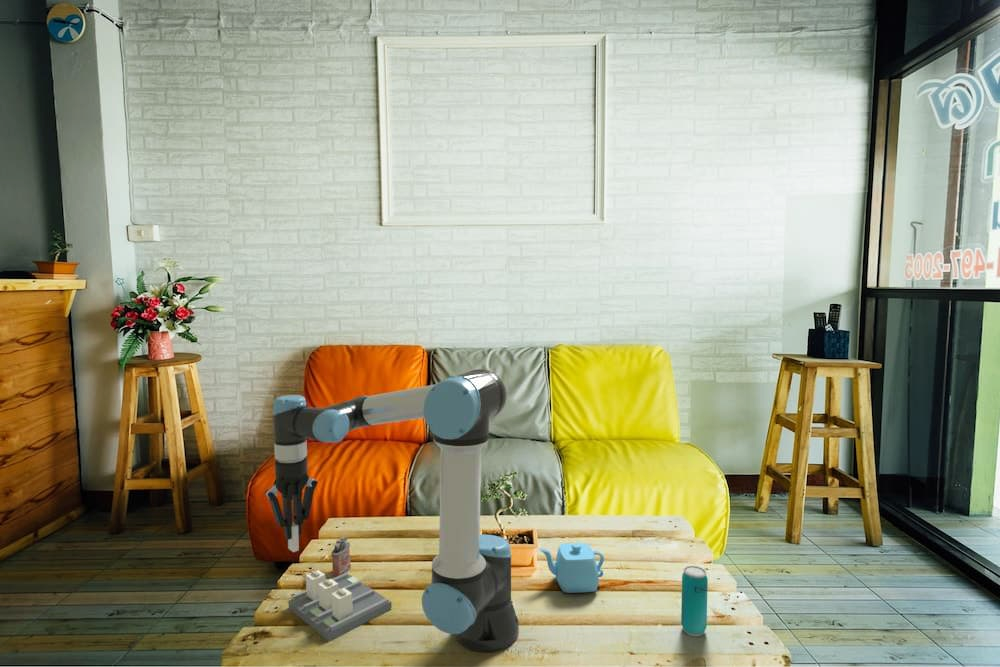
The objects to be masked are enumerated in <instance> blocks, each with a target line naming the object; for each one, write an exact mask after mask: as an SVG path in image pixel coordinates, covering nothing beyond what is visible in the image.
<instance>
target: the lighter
mask: <svg viewBox="0 0 1000 667" xmlns="http://www.w3.org/2000/svg"><path fill="white" fill-rule="evenodd" d="M350 543H351V542H349V541H348V536H347V535H343V536H342V537H341V538H340V539H337V540H336V542H335V544H334V549H333V550H332V552H331V553H330V554H331V561H332V564H331V565H332V575H331V576H332V578H335V577H337V576H340V575H342V574H344V573H347V572H348V571H350V570H351V569H352V568H351V567H352V564H351V558H350V557H351V556H350V547H351V544H350ZM348 573H349V572H348ZM332 578H331V579H332Z"/></svg>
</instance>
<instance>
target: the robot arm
mask: <svg viewBox="0 0 1000 667" xmlns="http://www.w3.org/2000/svg"><path fill="white" fill-rule="evenodd" d="M306 401H307V400H306V397H304V396H302V395H299V394H291V395H290V394H287V395H281V396H278V397H277V398H275V399H274V401H273V406H272V408H273V409H272V410H273V411H272V417H273V418H272V419H273V420H272V421H273V441H274V442H273V443H274V444H273V445H274V447H273V448H274V449H273V450H274V459H275V461H274V474H275V479H274V482H273V486H272V487H271V488H270V489H266V490H265V491H264V495H265V496H266V497H267V499H268V500H269V503H270V506H271V511H272V513H273V517H274V520H275V523H276V525H278V526H279V527H280V528H284V529H283V530H284V532H283V533H284V538H285V539H286V540H287V549H288V550H289V551H291V552H292V553H296V552H298V551H299V550H300V549H299V548H300V545H299V543H300V542H299V541H300V539H299V537H301V535H302V533H303V532H302V526H303V524H304V521H305V520H307V521H308V520H309V518H310V513H311V507H312V503H313V498H314V494H315V490H316V487H317V485H318V484H319V482H318V480H316V479H315V478H311V477H310V476H309V474H308V458H307V456H308V447H307V444H308V443H307V442H308V440H315V441H319V442H322V443H332V444H333V443H335V444H336V443H339V442H341V441H343V440H344V438H345V437H346V436H347V435H348V433H349V432H352V431H353V430H357V429H359V428H366V427H371V426H375V425H384V424H391V423H398V422H404V421H411V420H418V419H424V422H425V423H426V425H427V426H428V427H429V430H430V431H431V433H432V435H433V437H432V439H433V440H432V441H433V442H434V443H435V444H436V445H437V446H438V447H439V449H440V453H439V454H440V456H439V457H440V461H439V463H440V464H439V533H438V534H439V538H438V539H439V541H438V543H439V544H438V546H439V549H438V554H437V555H436V556H435V557H434V558H433V559H432V563H431V581H430V584H428V585H427V586H426V587H425V589H424V591H423V593H422V596H421V606H422V610H423V613H424V615H425V617H426V619H427V620H428V621H429V622H431V625H432V626H434V627H435V628H436V629H438V630H439V631H441V632H442V633H445V634H449V635H456V639H457V642H459V644H461V645H462V646H463V647H464V648H467V649H469V650H470V651H475V652H481V653H482V652H483V653H489V652H498V651H501V650H504V649H505V648H508V647H510V646H511V645H513V643H515V642H516V640H517V639H518V637H519V635H520V634H519V633H520V631H519V630H520V627H519V625H520V624H519V619H518V617H517V615H516V611H515V610H516V609H515V608H514V605H513V604H514V603H513V602H512V558H513V557H512V556H513V555H512V552H511V544H510V543H509V541H507V539H505V538H504V537H501V536H498V535H493V534H480V533H481V532H480V526H481V525H480V523H481V522H480V521H481V484H482V483H481V482H482V481H481V480H482V448H483V447H484V446H485V445H486V444H487V443H488V442H489V438H490V421H492V420H493V419H494V418H496V417H497V416H498V415H500V414H501V412H502V411H503V410H504V407H505V405H506V402H507V389H506V386H505V383H504V381H503V380H502V379H501V378H500V376H498V375H497V374H496V373H494V372H493V371H491V370H489V369H484V368H483V369H480V368H478V369H474V370H470V371H466V372H464V373H461V374H457V375H451V376H448V377H446V378H444V379H442V380H441V381H439V382H437V383H436V384H430V385H424V386H419V387H412V388H407V389H401V390H395V391H391V392H384V393H379V394H375V395H363V396H362V395H361V396H357V397H354V398H352V399H349V400H345V401H342V402H339V403H336V404H331V405H329V406H324V407H313V406H308V405H307V402H306ZM307 439H308V440H307ZM303 490H304V492H303ZM278 492H279V493H280V494H281V499H282V508H281V505H280V502H279V499H278Z"/></svg>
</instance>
